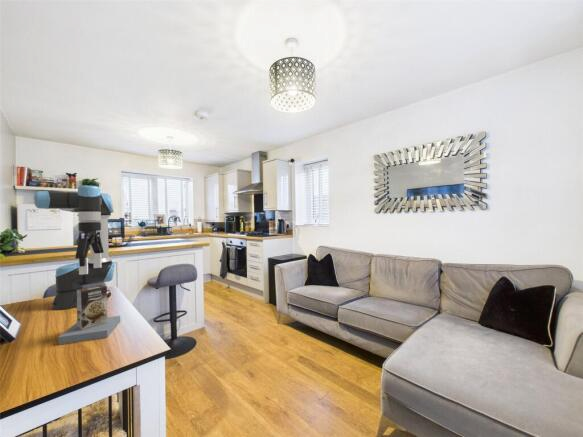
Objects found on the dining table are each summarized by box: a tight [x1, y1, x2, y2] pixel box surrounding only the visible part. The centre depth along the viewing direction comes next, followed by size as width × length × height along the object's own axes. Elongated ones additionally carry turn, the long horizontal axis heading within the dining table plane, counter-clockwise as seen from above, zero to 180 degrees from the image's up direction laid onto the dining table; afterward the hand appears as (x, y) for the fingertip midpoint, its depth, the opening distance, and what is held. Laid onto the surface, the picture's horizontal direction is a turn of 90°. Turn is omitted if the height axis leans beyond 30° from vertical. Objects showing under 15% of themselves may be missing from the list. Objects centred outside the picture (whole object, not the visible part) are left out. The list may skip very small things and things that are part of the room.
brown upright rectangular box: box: [76, 284, 108, 330], centre depth 107 cm, size 9×6×16 cm
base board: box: [58, 315, 121, 346], centre depth 106 cm, size 16×16×3 cm
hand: (91, 270), depth 106 cm, fingers open, 13 cm apart
